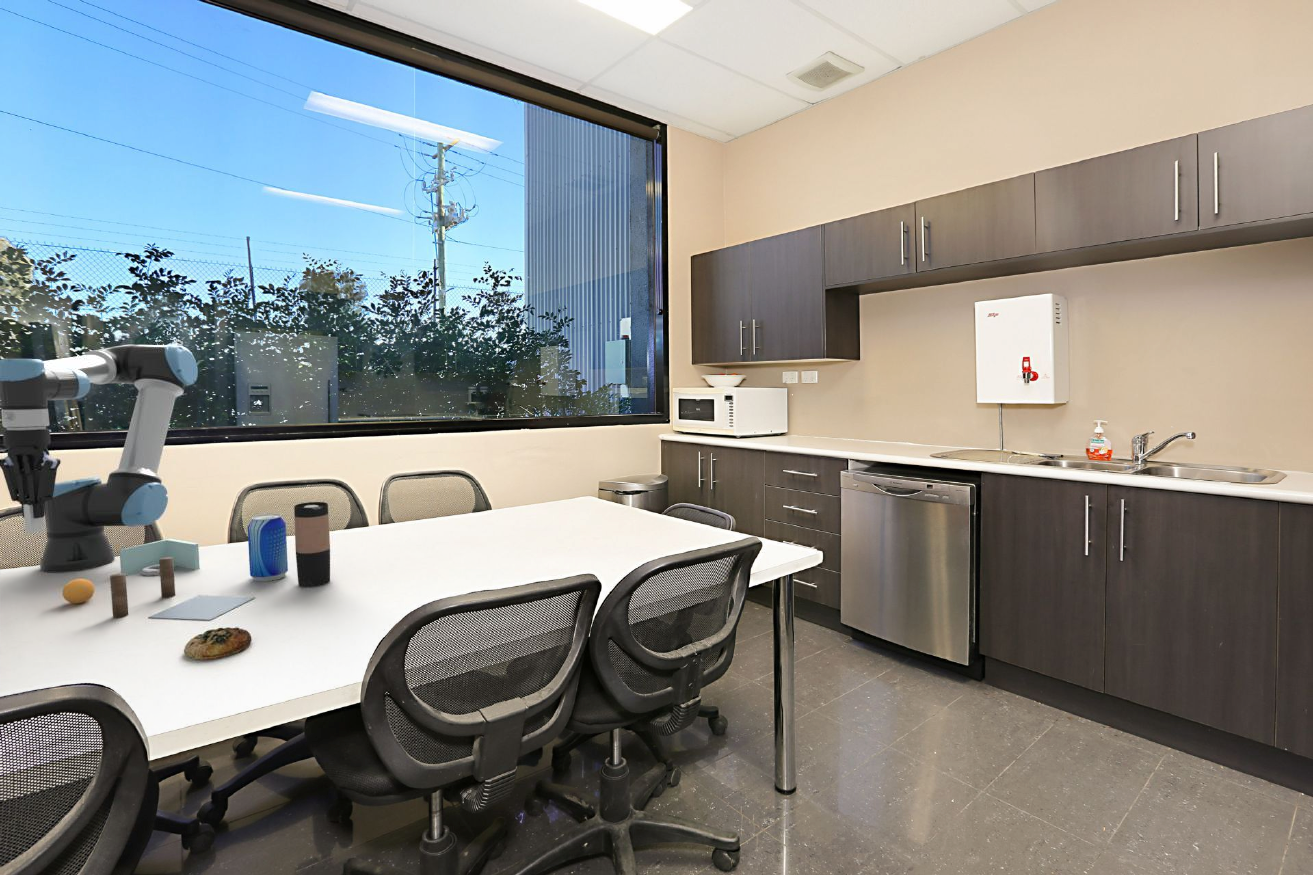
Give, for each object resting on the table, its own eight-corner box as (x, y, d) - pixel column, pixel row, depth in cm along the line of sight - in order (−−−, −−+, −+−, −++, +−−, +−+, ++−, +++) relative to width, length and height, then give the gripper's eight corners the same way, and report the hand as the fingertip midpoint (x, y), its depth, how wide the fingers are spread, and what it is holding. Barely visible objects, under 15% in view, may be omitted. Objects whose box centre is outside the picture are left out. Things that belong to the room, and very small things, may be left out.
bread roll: (264, 636, 130) (260, 614, 129) (230, 669, 119) (226, 644, 118) (208, 639, 130) (203, 616, 129) (169, 671, 119) (164, 647, 118)
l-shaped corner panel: (121, 577, 168) (119, 549, 167) (170, 565, 179) (169, 538, 178) (151, 583, 163) (149, 554, 163) (199, 570, 175) (198, 543, 174)
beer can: (270, 583, 163) (267, 520, 161) (242, 581, 164) (238, 519, 163) (295, 573, 171) (292, 513, 169) (268, 571, 173) (265, 512, 171)
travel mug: (305, 578, 167) (302, 501, 165) (336, 577, 168) (333, 501, 166) (291, 588, 159) (287, 508, 158) (323, 587, 160) (320, 507, 158)
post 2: (158, 597, 152) (156, 560, 151) (167, 593, 154) (165, 556, 154) (169, 597, 152) (166, 560, 151) (178, 594, 154) (175, 557, 153)
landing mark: (148, 617, 139) (148, 617, 139) (198, 595, 153) (198, 595, 153) (210, 620, 138) (210, 619, 138) (255, 598, 152) (255, 597, 152)
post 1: (109, 617, 139) (106, 576, 138) (120, 613, 142) (117, 573, 141) (121, 617, 139) (118, 577, 138) (131, 613, 142) (128, 573, 141)
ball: (56, 606, 145) (54, 582, 145) (79, 598, 151) (78, 575, 150) (79, 607, 145) (77, 583, 144) (102, 599, 150) (100, 575, 150)
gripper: (-20, 429, 141) (-10, 535, 144) (36, 430, 141) (44, 536, 143) (17, 426, 149) (25, 527, 151) (70, 427, 148) (77, 528, 150)
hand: (34, 531), depth 147 cm, fingers closed
